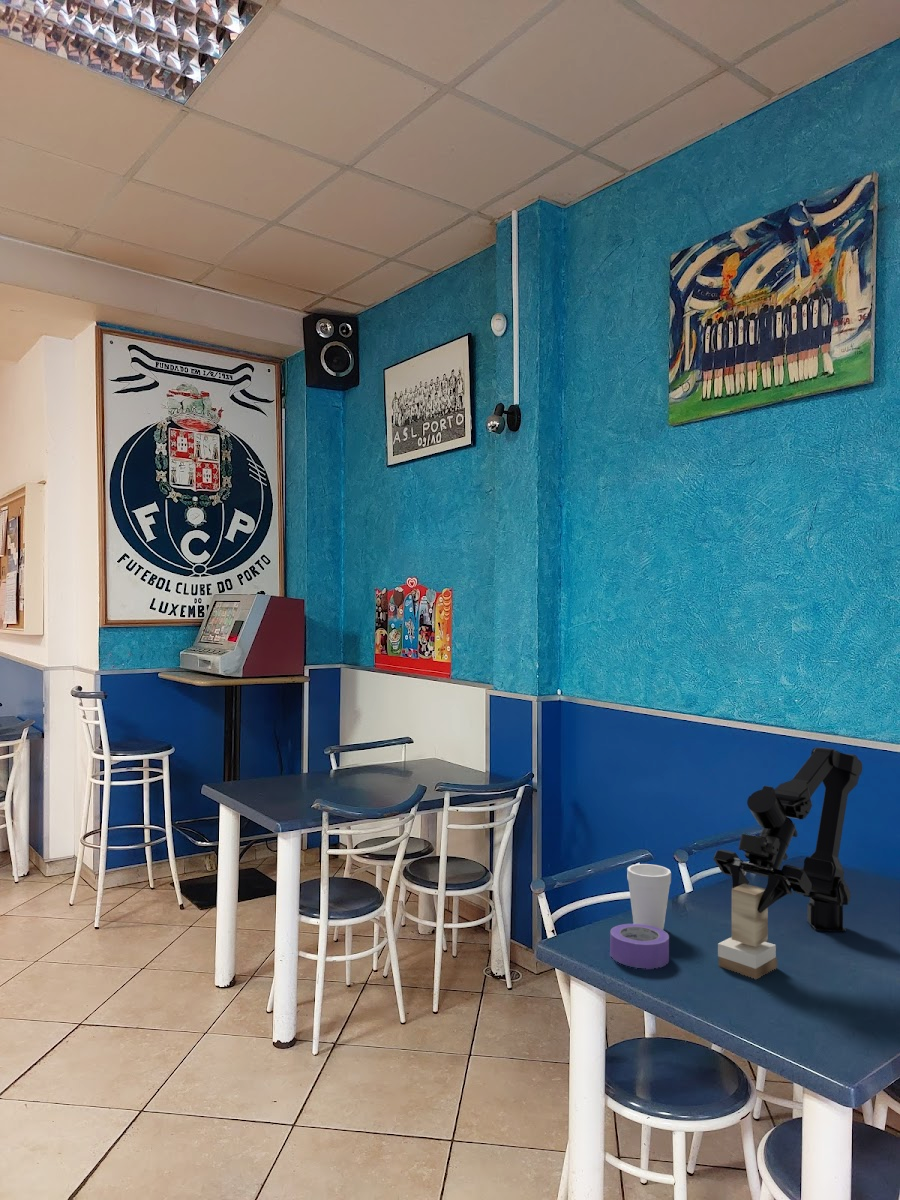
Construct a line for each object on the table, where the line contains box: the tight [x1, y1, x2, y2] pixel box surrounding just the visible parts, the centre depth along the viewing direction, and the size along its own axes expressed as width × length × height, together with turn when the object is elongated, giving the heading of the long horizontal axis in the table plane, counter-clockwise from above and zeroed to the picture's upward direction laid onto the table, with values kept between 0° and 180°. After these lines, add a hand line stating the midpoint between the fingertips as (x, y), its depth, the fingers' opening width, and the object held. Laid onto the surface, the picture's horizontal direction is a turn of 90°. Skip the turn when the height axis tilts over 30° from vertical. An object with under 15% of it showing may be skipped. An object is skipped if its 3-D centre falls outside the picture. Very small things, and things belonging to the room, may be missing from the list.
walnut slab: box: [718, 956, 778, 980], centre depth 171 cm, size 8×8×2 cm
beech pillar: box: [731, 883, 769, 947], centre depth 171 cm, size 5×5×10 cm
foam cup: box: [626, 863, 672, 930], centre depth 191 cm, size 10×9×13 cm
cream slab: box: [717, 936, 777, 969], centre depth 171 cm, size 8×8×2 cm
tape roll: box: [609, 923, 670, 970], centre depth 176 cm, size 12×12×5 cm
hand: (746, 908), depth 170 cm, fingers closed on beech pillar, 5 cm apart
